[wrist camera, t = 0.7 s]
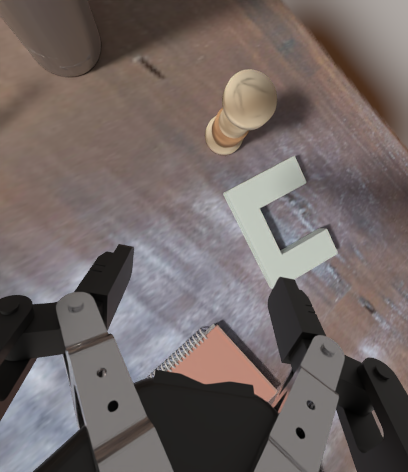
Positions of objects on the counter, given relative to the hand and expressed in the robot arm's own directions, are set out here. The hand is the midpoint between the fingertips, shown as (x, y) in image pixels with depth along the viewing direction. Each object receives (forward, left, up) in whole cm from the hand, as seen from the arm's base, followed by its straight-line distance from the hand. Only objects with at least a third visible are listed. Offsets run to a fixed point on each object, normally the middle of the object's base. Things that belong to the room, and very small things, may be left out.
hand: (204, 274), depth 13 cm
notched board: (+6, +15, -24) cm, 29 cm away
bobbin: (-10, +13, -24) cm, 29 cm away
